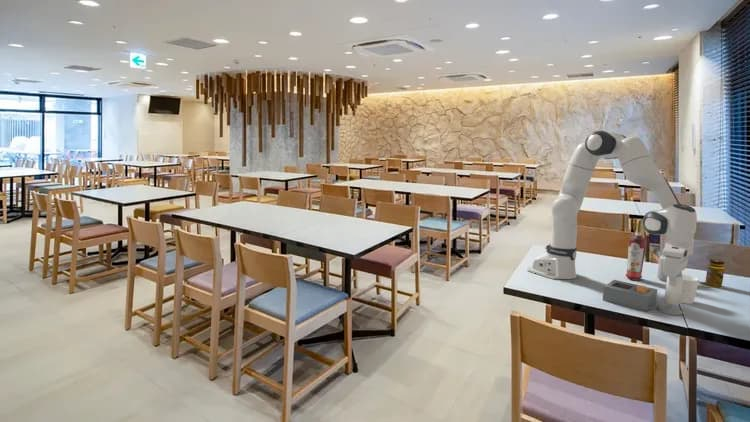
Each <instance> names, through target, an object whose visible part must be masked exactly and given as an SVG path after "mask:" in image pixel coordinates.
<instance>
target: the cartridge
mask: <svg viewBox="0 0 750 422" xmlns="http://www.w3.org/2000/svg"><path fill="white" fill-rule="evenodd" d="M683 275H684V274H683V272H682V273H679V274H678V275H677V276H676V280H675V281H676V283H675V285H674V286H671V285H669V277H667V282H666V281H665V282H666V284H665V293H664V303H665V304H668V305H673V306H679V305H681V302H680V300H681V292H682V283H683Z"/></svg>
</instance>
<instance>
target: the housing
mask: <svg viewBox="0 0 750 422" xmlns="http://www.w3.org/2000/svg"><path fill="white" fill-rule="evenodd" d="M638 285H639V284H634V283H631V282H626V281H622V280H617V279H613V280H611V281H610V282H609V283H606V284H605V285H604V286H603V293H602V301H604V302H608V303H613V304H616V305H620V306H624V307H628V308H632V309H636V310H639V311H643V312H648V311H649V310H650V309H652V308H653V307H654V306H655V305H656V304H657V296H658V289H657V288H652V287H649V286H647V287H648V290H647V293H644V292H639V291H636V287H637V286H638Z"/></svg>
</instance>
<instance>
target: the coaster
mask: <svg viewBox="0 0 750 422" xmlns="http://www.w3.org/2000/svg"><path fill="white" fill-rule="evenodd" d="M657 310H658V312H660V313H662V314H665V315H670V316H676V315H679V316H682V315H683V310H682V309H679V308H677V307H674V306H669V305H658V306H657Z"/></svg>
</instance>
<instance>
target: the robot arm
mask: <svg viewBox="0 0 750 422" xmlns="http://www.w3.org/2000/svg"><path fill="white" fill-rule="evenodd" d="M574 149H575V150H574V151H573V153H572V155H571V158H569V159H570V160H569V162H568V165H567V167H566V170H565V172H564V176H563V178H562V181H561V182H562V183H561V186H560V189H559V193H558V196H557V198H555V199H554V200H553V202H552V204H551V236H550V243H549V244H547V245H546V246H545V247H544V248H545V250H546V251H545V252H543V253H541V254H539V255H537V256H536V257H534V259H533V261H532V264H531V265H529V266H528V267H527V269H526V270H527V272H529V273H533V274H535V273H536V275H540V276H542V277H545V278H549V279H551V280H573V279H577V270H576V258H577V238H578V237H577V236H578V212H579V211H580V209H581V207H582V204H583V202H584V199H585V196H586V194H587V191H588V187H589V184H590V181H591V179H592V176H593V173H594V171H595V169H596V166H597V164H598V162H599V161H600V160H601V159H605V160H608V159H609V160H610V159H614V160H616V159H617V160H618V161H619V163H620V166H621V169H622V172H623V174H624V176H625V178H626V179H627V180H628V182H630V183H633V184H634V185H636V186H640V187H643V188H645V189H648V190H649V191H650V192H652V193H653V194H654V195H655V197H656V199H657V201H658V203H659V205H660V208H661V209H657V210H650V211H648V212H646V213H645V214H644V216H643V217H642V220H643V227H642V228H643V229H644V230H645V232H646V233H648V234H649V235H655V236H659V235H662V236H665V240H664V248H663V249H662V254H663V255H665V256H664V268H663V272H664V276H667V277H669V285H671V286H674V285H675V283H676V281H675V280H676V276H677V275H678V274H679V273H682V274H683V271H684V270H685V269H687V267H688V265H689V264H688V263H689V256H692V255H693V253H694V247H695V245H694V244H695V239H694V238H695V237H694V236H695V233H696V232H697V224H698V223H697V220H698V216H697V211H696V209H695V208H694V207H693V206H690V205H687V204H681V203H680V201H679V200H678V197H677V196H676V194H675V192H674V190H673V188H672V187H671V185H670V183H669V182H668V179H667V178H666V176H664V175H663V174H662V173H661V171H660V170H659V169H658V167H657V166H656V164H655V163H654V160H653V158H652V156H651V154H650V151H649V149H648V148H647V146H646V144H645V143H644V141H643V140H642V139H641V138H640V137H639V136H638V137H637V136H628V137H626V136H625V135H624V134H621V133H620V134H619V133H617V132H613V131H605V130H597V131H596V130H595V131H593V132H591V133H590V134H589V135H587V137H586V139H585V141H584V142H581V143H579V144H578V145H577V146H576V148H574Z"/></svg>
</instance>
